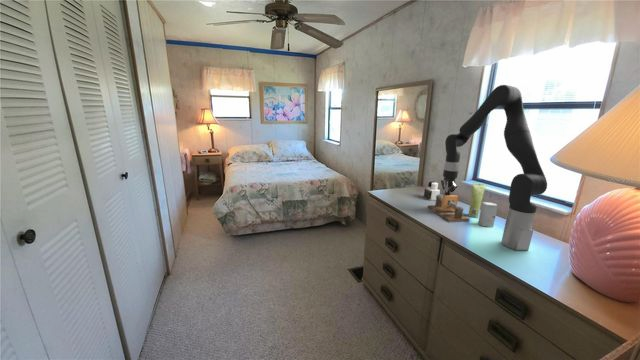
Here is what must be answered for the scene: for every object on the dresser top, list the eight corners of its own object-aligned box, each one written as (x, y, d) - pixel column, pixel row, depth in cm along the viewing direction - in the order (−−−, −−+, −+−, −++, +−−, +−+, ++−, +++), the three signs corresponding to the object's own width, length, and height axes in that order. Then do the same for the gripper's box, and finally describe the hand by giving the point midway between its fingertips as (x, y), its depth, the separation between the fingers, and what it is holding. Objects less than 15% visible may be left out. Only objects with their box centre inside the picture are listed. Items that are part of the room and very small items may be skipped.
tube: (470, 213, 154) (476, 182, 149) (479, 216, 150) (486, 184, 145) (466, 215, 150) (472, 183, 145) (476, 218, 146) (482, 185, 142)
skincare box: (481, 226, 136) (485, 204, 133) (477, 222, 140) (481, 201, 137) (493, 227, 136) (498, 205, 133) (489, 223, 140) (493, 202, 137)
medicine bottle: (423, 197, 182) (425, 181, 179) (431, 196, 184) (434, 180, 181) (430, 200, 175) (432, 183, 172) (438, 199, 177) (441, 183, 174)
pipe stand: (469, 221, 142) (471, 206, 140) (448, 221, 141) (451, 207, 138) (445, 207, 163) (447, 194, 161) (427, 207, 162) (429, 194, 160)
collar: (456, 210, 150) (458, 196, 148) (443, 210, 149) (445, 196, 147) (453, 208, 152) (455, 195, 150) (440, 209, 151) (442, 195, 149)
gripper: (464, 171, 142) (459, 201, 146) (450, 167, 155) (445, 194, 159) (452, 171, 141) (447, 201, 145) (438, 167, 154) (434, 194, 158)
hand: (446, 198), depth 152 cm, fingers closed
